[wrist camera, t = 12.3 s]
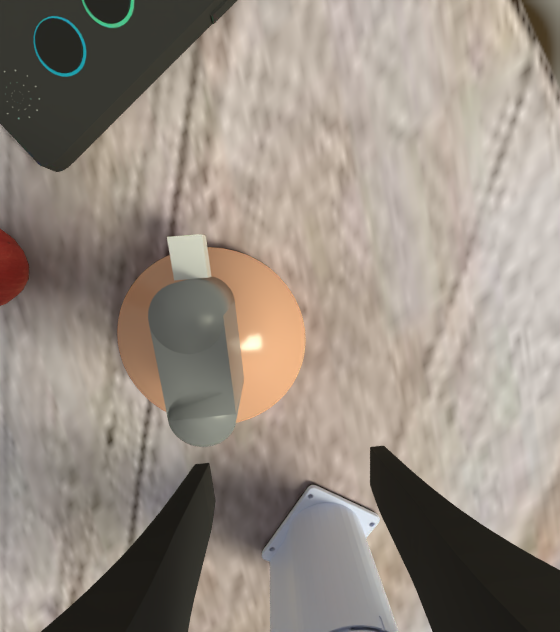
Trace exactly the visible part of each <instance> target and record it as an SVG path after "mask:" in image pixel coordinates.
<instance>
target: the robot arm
mask: <svg viewBox="0 0 560 632" xmlns="http://www.w3.org/2000/svg"><path fill="white" fill-rule="evenodd" d="M370 486H371V489H372V492H373V495H374V497H375V500H376V503H377V506H378V508H379V511H380V513H381V515H382V518H383V520H384V522H385V524H386V526H387V528H388V530H389V532H390V535H391V537H392V539H393V541H394V543H395V545H396V547H397V549H398V551H399V553H400V555H401V558H402V560H403V562H404V564H405V566H406V568H407V570H408V572H409V574H410V577H411V579H412V581H413V583H414V586H415V588H416V590H417V593H418V595H419V598H420V600H421V603H422V606H423V608H424V611H425V613H426V616H427V618H428V621H429V623H430V626H431V629H432V631H433V632H560V570H558V569H556V568H555V567H553V566H551V565H549V564H547V563H545V562H544V561H542V560H540V559H538V558H536V557H534V556H533V555H531V554H529V553H527V552H526V551H524V550H522V549H520V548H519V547H517V546H515V545H514V544H512V543H510V542H509V541H507V540H506V539H504V538H502V537H501V536H499V535H497V534H496V533H494V532H493V531H491V530H489V529H488V528H486V527H485V526H483V525H482V524H480V523H479V522H477V521H476V520H474V519H473V518H471V517H470V516H469V515H467V514H466V513H464V512H463V511H461V510H460V509H459V508H457V507H456V506H454V505H453V504H452V503H450V502H449V501H448V500H447V499H445V498H444V497H443V496H441V495H440V494H439V493H438V492H436V491H435V490H434V489H433V488H431V487H430V486H429V485H428V484H426V483H425V482H424V481H423V480H422V479H421V478H419V477H418V476H417V475H416V474H415V473H414V472H412V471H411V470H410V469H409V468H408V467H407V466H406V465H405V464H403V463H402V462H401V461H400V460H399V459H398V458H397V457H396V456H395V455H393V454H392V453H391V452H390V451H389V450H388V449H387V448H386V447H385V446H376V447H370ZM309 494H311V495H309ZM214 507H215V495H214V489H213V483H212V477H211V471H210V464H209V463H204V464H195V465H194V467H193V468H192V469H191V471H190V472H189V474H188V475H187V476H186V478H185V479H184V481H183V482H182V483H181V485H180V486H179V488H178V489H177V490H176V492H175V493H174V494H173V496H172V497H171V498H170V500H169V501H168V502H167V504H166V505H165V506H164V508H163V509H162V510H161V511H160V513H159V514H158V515H157V516H156V518H155V519H154V520H153V521H152V522H151V524H150V525H149V526H148V527H147V529H146V530H145V531H144V532H143V533H142V535H141V536H140V537H139V538H138V539H137V540H136V541H135V543H134V544H133V545H132V546H131V547H130V548H129V549H128V550H127V551H126V552H125V553H124V555H123V556H122V557H121V558H120V559H119V560H118V561H117V562H116V563H115V564H114V565H113V566H112V567H111V568H110V569H109V570H108V571H107V572H106V573H105V574H104V575H103V576H102V577H101V578H100V579H99V580H98V581H97V582H96V583H95V584H94V585H93V586H92V587H91V588H90V589H89V590H88V591H87V592H85V593H84V594H83V595H82V596H81V597H80V598H79V599H78V600H77V601H76V602H74V603H73V604H72V605H71V606H70V607H69V608H68V609H67V610H66V611H64V612H63V613H62V614H61V615H60V616H59V617H57V618H56V619H55V620H54V621H53V622H52V623H51V624H49V625H48V626H47V627H46V628H45V629H43V630H42V631H41V632H188V628H189V622H190V616H191V611H192V607H193V602H194V598H195V594H196V590H197V586H198V581H199V577H200V573H201V569H202V565H203V561H204V557H205V553H206V549H207V545H208V541H209V537H210V533H211V528H212V522H213V515H214ZM379 521H380V518H379V516H378V514H376V513H374V512H372V511H370V510H368V509H366V508H364V507H361V506H359V505H357V504H355V503H353V502H351V501H348V500H346V499H344V498H342V497H340V496H338V495H336V494H333V493H331V492H329V491H327V490H325V489H323V488H321V487H318V486H316V485H310V486H309V487H308V488H307V490H306V491H305V492H304V494H303V495H302V497H301V498H300V499H299V501H298V502H297V503H296V505H295V506H294V508H293V509H292V510H291V512H290V513H289V515H288V516H287V517H286V519H285V520H284V522H283V523H282V524H281V526H280V527H279V529H278V530H277V531H276V533H275V534H274V536H273V537H272V538H271V540H270V541H269V542H268V544H267V545H266V547H265V548H264V549H263V551H262V558H263V559H264V560H267V561H269V562H270V632H399V631H398V628H397V625H396V622H395V619H394V616H393V613H392V611H391V608H390V605H389V602H388V599H387V596H386V593H385V591H384V588H383V585H382V582H381V579H380V576H379V573H378V571H377V568H376V565H375V562H374V559H373V556H372V553H371V551H370V548H369V545H368V542H367V539H366V538H367V536H368V535H369V534H370V533H371V531H372V530H373V529H374V528H375V526H376V525H377V524H378V523H379Z"/></svg>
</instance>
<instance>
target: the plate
mask: <svg viewBox="0 0 560 632" xmlns="http://www.w3.org/2000/svg"><path fill="white" fill-rule="evenodd" d="M207 248H208V256H209V263H210V270H211V276H212V277H216V278H218V279H220V280H222V281H223V282H224V283H226V284H227V285H228V287H229V288H230V289H231V291H232V293H233V296H234V300H235V307H236V315H237V324H238V332H239V340H240V349H241V357H242V365H243V374H244V384H243V389H242V394H241V399H240V404H239V409H238V414H237V419H236V422H241V421H244V420H247V419H250V418H252V417H255V416H257V415H259V414H261V413H262V412H264V411H266V410H267V409H269V408H270V407H272V406H273V405H274V404H275V403H277V402H278V401H279V400H280V399H281V398H282V397H283V396H284V395H285V394H286V392H287V391H288V390H289V388H290V387H291V386H292V384H293V382H294V381H295V379H296V377H297V375H298V373H299V370H300V368H301V365H302V361H303V357H304V352H305V328H304V322H303V318H302V315H301V312H300V308H299V306H298V304H297V302H296V300H295V298H294V296H293V295H292V293H291V291H290V290H289V288H288V287H287V285H286V284H285V283H284V282H283V281H282V279H281V278H280V277H279V276H278V275H277V274H276V273H275V272H273V271H272V270H271V269H270V268H269V267H267V266H266V265H264V264H263V263H262V262H260V261H258V260H256V259H254V258H252V257H250V256H248V255H246V254H243V253H240V252H237V251H233V250H228V249H224V248H214V247H207ZM186 280H188V279H186ZM180 281H184V280H174V276H173V270H172V264H171V259H170V255H168V256H166V257H164V258H162V259H160V260H158V261H157V262H155V263H154V264H153V265H151V266H150V267H148V268H147V269H146V270H145V271H144V272H143V273H142V274H141V275H140V276H139V277H138V278H137V279H136V281H135V282H134V283H133V285H132V286H131V287H130V289H129V291H128V293H127V294H126V296H125V299H124V301H123V304H122V306H121V309H120V314H119V318H118V328H117V336H118V346H119V351H120V356H121V358H122V361H123V364H124V367H125V369H126V371H127V373H128V375H129V377H130V378H131V380H132V381H133V383H134V384H135V386H136V387H137V388H138V389H139V390H140V391H141V393H142V394H143V395H144V396H145V397H146V398H147V399H149V400H150V401H151V402H152V403H153V404H155V405H156V406H157V407H159V408H160V409H162V410H163V411H165V412H166V407H165V402H164V397H163V392H162V387H161V382H160V377H159V372H158V367H157V362H156V357H155V352H154V347H153V342H152V337H151V332H150V327H149V321H148V310H149V306H150V303H151V301H152V299H153V297H154V296H155V295H156V293H157V292H158V291H160V290H161V289H162V288H164V287H165V286H167V285H170V284H173V283H176V282H180Z"/></svg>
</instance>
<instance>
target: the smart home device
mask: <svg viewBox="0 0 560 632" xmlns="http://www.w3.org/2000/svg"><path fill="white" fill-rule="evenodd" d="M236 1H237V0H0V124H1V125H2V126H3V127H4V128H5V129H6V130H7V131H8V132H9V133H10V134H11V135H12V136H13V137H14V138H15V139H16V140H17V142H18V143H19V144H20V145H21V146H22V147H23V148H24V149H25V150H26V151H27V152H28V153H29V154H30V155H31V156H32V157H33V158H34V159H35V161H36V162H37V163H38V164H39V165H41V166H43V167H45V168H48V169H50V170H53V171H56V172H59V171H62V170H65V169H66V168H68V167H69V166H70V165H71V164H72V163H73V162H74V161H75V160H76V159H77V158H78V157H79V156H80V155H81V154H82V153H83V152H84V151H85V150H86V149H87V148H88V147H89V146H90V145H91V144H92V143H93V142H94V141H95V140H96V139H97V138H98V137H99V136H100V135H101V134H102V133H103V132H104V131H105V130H106V129H107V128H108V127H109V126H110V125H111V124H112V123H113V122H114V121H115V120H116V119H117V118H118V117H119V116H120V115H121V114H122V113H123V112H124V111H125V110H126V109H127V108H128V107H129V106H130V105H131V104H132V103H133V102H134V101H135V100H136V99H137V98H138V97H139V96H140V95H141V94H142V93H143V92H144V91H145V90H146V89H147V88H148V87H149V86H150V85H151V84H152V83H153V82H154V81H155V80H156V79H157V78H158V77H159V76H160V75H161V74H162V73H163V72H164V71H165V70H166V69H167V68H168V67H169V66H170V65H171V64H172V63H173V62H174V61H175V60H176V59H177V58H178V57H179V56H180V55H181V54H182V53H184V52H185V51H186V50H187V49H188V48H189V47H190V46H191V45H192V44H193V43H194V42H195V41H196V40H197V39H198V38H199V37H200V36H201V35H202V34H203V33H204V32H205V31H206V30H207V29H208V28H209V27H210V26H211V25H212V24H214V23H215V22H216V21H217V20H218V19H219V18H220V17H221V16H222V15H223V14H224V13H225V12H226V11H227V10H228V9H229V8H230V7H231V6H232V5H233V4H234V3H235V2H236Z"/></svg>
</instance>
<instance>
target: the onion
mask: <svg viewBox="0 0 560 632" xmlns="http://www.w3.org/2000/svg"><path fill="white" fill-rule="evenodd" d="M28 279H29V264H28V262H27V259H26V256H25V254H24V252H23V250H22V249H21V248H20V246H19V245H18V244H17V242H16V241H15V240H14V239H13V238H12V237H11V236H9V235H8V234H7V233H6V232H4V231H3V230H1V229H0V306H1V305H4V304H6V303H8V302H9V301H10V300H12V299H13V298H14V297H16V296H17V295H18V294H19V293H20V292H21V291H22V290H23V289H24V287H25V285H26V283H27V281H28Z"/></svg>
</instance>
